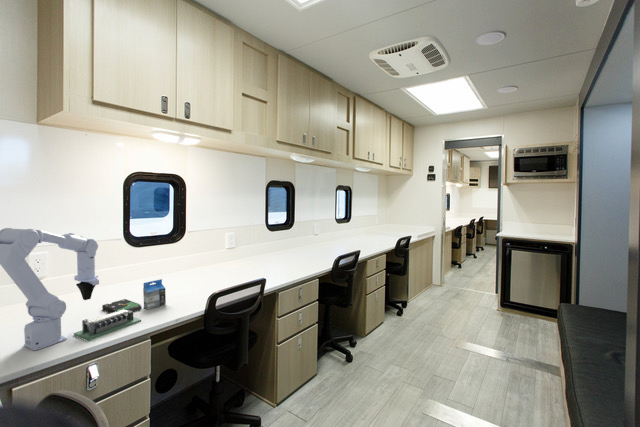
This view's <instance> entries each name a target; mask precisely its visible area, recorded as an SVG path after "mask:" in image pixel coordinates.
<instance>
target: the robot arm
mask: <svg viewBox="0 0 640 427" xmlns="http://www.w3.org/2000/svg"><path fill="white" fill-rule="evenodd" d="M42 242H44V243H48V244H55V245H56V244H57V246H58V247H59V248H60V249H63V250H69V251H73V252H75V253H76V260H77V262H76V264H77V265H76V266H77V272H76V273H77V275H74V281H77V282H79V283H76V287H77V288H78V289H79V292H80V294H81V298H82V300H83V301H87V300H91V298H92V294H93V291H94V289H95V287H96V286H97V285H99V284H100V280H99V279H98V278H99V275H96V271H95V270H96V265H95V264H96V263H95V262H96V259H95V257H96V255H97V250H98V248H99V244H98V242H97V241H96V240H95V239H93V238H85V236H81V235H80V236H78V235H75V233H74V232H73V233H72V232H71V233H70V232H68V233H65V234H61V235H59V234H56V233H52V232H49V231H45V230H41V229H33V228H12V227H11V228H10V227H5V228H2V229H0V266H1V267H2V269H3V270H4V271H5V272H6V273H7V275H8V276H9V277H10V279H11V280H12V281H13V283H14V284H15V285H16V287H17V288H18V289H19V290H20V291H21V293H22V294H23V295H24V297H25V298H26V299H27V301H26V302H25V306H26V308H27V314H28V315H29V316H30V317H32V320H33V321H31V322H28V323H26V324H25V325H24V328H23V329H24V332H23V333H24V344H23V346H24V347H27V348H29V349H30V350H32V351H38V350H40V349H43V348H46V347H49V346H53V345H54V344H57V343H61V342H63V341H66V340H67V337H66V336H64V335H62V317H63V315H64V314H65V312H66V311H67V304H66V302H65V301H64V300H62V299H59V297H58V296H56V295H55V294H54V293H53V294H52V293H51V292H49V291H48V289H47V288H46V286H44V284H43V282H42V281H41V280H40V279H39V277H38V275H37V274H36V273H35V271H34V270H33V269H32V267H31V265H30V264H29V263H28V261H27V260H26V258H27V257H28V256H29V255H30V253H31V252H33V250H34V248H36V246H37V245H38V244H41V243H42Z"/></svg>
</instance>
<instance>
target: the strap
mask: <svg viewBox="0 0 640 427" xmlns="http://www.w3.org/2000/svg"><path fill="white" fill-rule="evenodd" d="M122 314H125V315H127V316H128V311H127V310H124V309H123V310H120V311H117V312H114V313H108V314H105V315H102V316H98V317H96V318H92V319H89V320H88V321H85V322H84V324H86V325H89V323H91V322H94V324H95V323H98V322H101V321H104V320H107V319H110V318H113V317H116V316H119V315H122Z"/></svg>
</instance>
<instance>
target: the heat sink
mask: <svg viewBox="0 0 640 427" xmlns="http://www.w3.org/2000/svg"><path fill="white" fill-rule="evenodd" d="M81 321H82V322H81V325H82V326H81V327H82V330H81V331H83V333H85V332H88V331H89V335H90V336H91V335H94V334H99V333H102V332H104V331H107V330H110V329H113V328H115V327H118V326H121V325H123V324H126V323H127V315H125V314H122V315H119V316H116V317H113V318H110V319H107V320H104V321H101V322H98V323H95V324H94V322H91V323H89V325H86V324H84V322H85V321H89V320H88V319H86V318H85V319H83V320H81Z"/></svg>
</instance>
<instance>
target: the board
mask: <svg viewBox="0 0 640 427" xmlns="http://www.w3.org/2000/svg"><path fill="white" fill-rule="evenodd" d="M127 311H128V316H127V323H126V324H123V325H121V326H118V327H115V328H113V329H110V330H107V331H104V332H102V333H99V334H94V335H91V336H90V335H89V331H88V332H85V333H83V331H82V330H80V331H75V332H74V333H73V336H75V337H77V336H78V337H77V338H79V337H80V338H79V339H82V338H83V339H82V340H84V339H85V340H84V341H86V340H87V342H90V341H93V340H95V339H98V338H101V337H103V336H107V335H109V334H111V333H114V332H117V331H119V330H122V329H124V328H127V327H130V326H132V325H136V324H138V323H140V322H142V319H141V318H139V317H135V316H134V312H133V311H130V310H127Z"/></svg>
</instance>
